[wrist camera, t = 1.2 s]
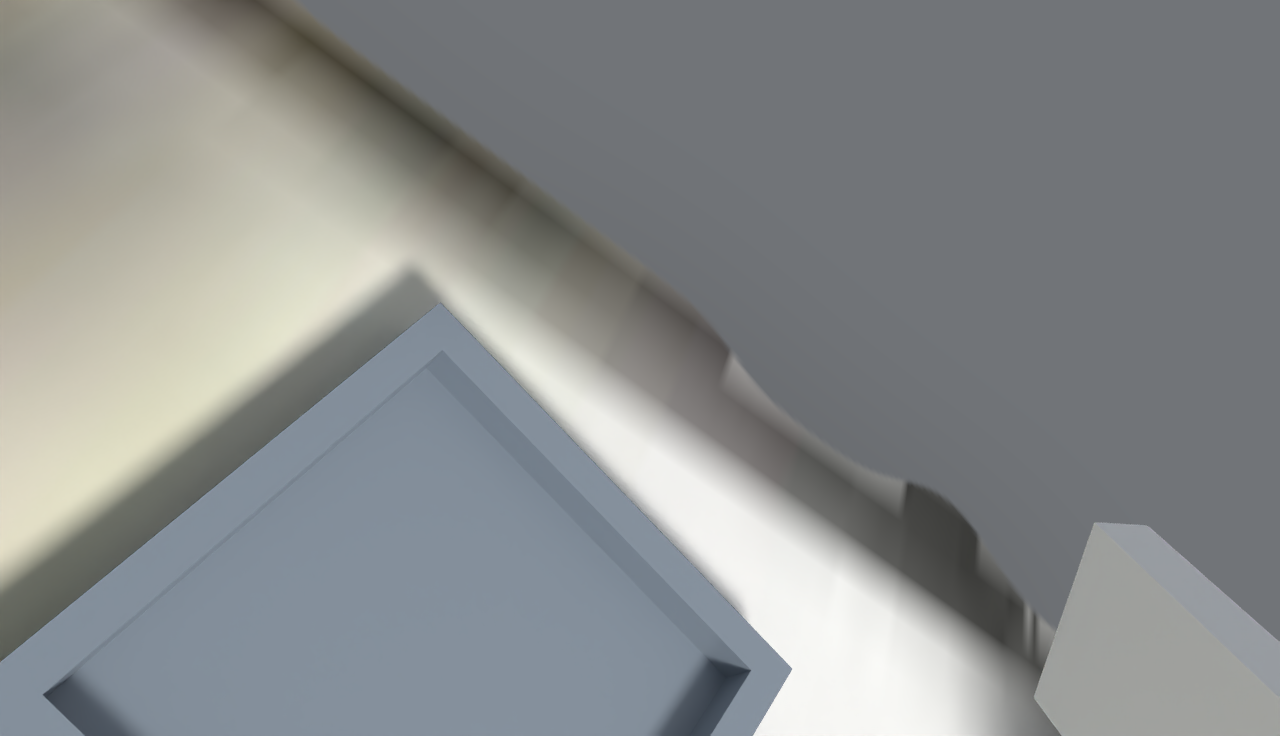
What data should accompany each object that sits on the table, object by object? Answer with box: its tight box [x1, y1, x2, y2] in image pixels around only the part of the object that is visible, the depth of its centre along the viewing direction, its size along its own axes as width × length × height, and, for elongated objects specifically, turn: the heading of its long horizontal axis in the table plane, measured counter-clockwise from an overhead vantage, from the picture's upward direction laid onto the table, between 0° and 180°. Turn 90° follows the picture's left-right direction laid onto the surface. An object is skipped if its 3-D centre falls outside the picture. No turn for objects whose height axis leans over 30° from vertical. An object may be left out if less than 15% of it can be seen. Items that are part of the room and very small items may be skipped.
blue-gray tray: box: [0, 303, 792, 736], centre depth 26 cm, size 14×14×2 cm
